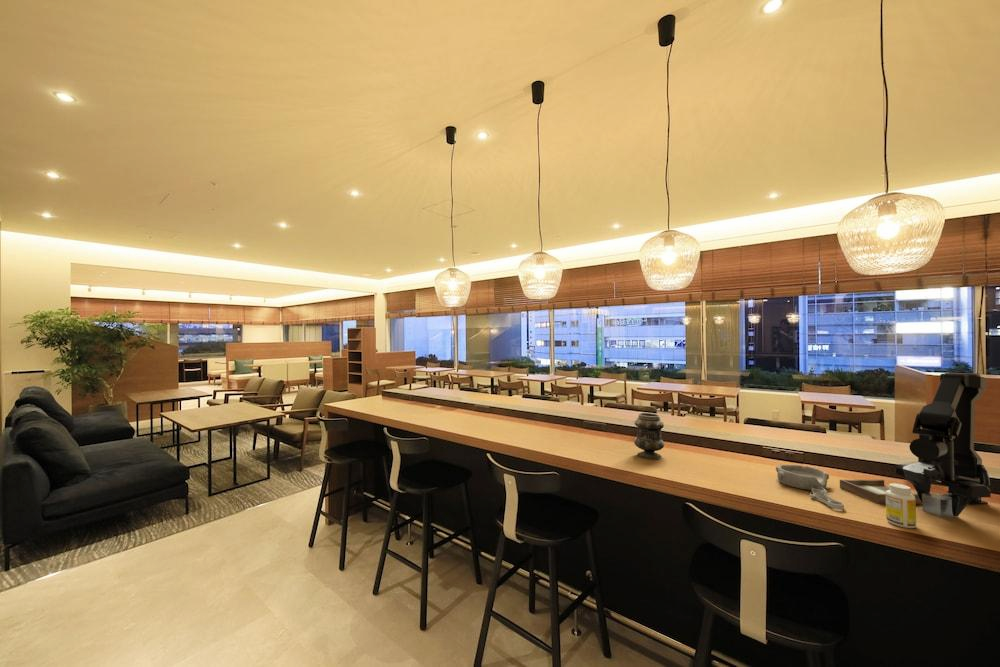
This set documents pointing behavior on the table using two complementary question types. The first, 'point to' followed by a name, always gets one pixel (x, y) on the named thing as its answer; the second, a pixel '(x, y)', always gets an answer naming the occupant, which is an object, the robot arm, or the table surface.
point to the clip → (937, 504)
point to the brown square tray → (870, 490)
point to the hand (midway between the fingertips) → (939, 509)
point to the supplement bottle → (900, 506)
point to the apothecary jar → (649, 435)
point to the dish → (802, 476)
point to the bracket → (825, 498)
